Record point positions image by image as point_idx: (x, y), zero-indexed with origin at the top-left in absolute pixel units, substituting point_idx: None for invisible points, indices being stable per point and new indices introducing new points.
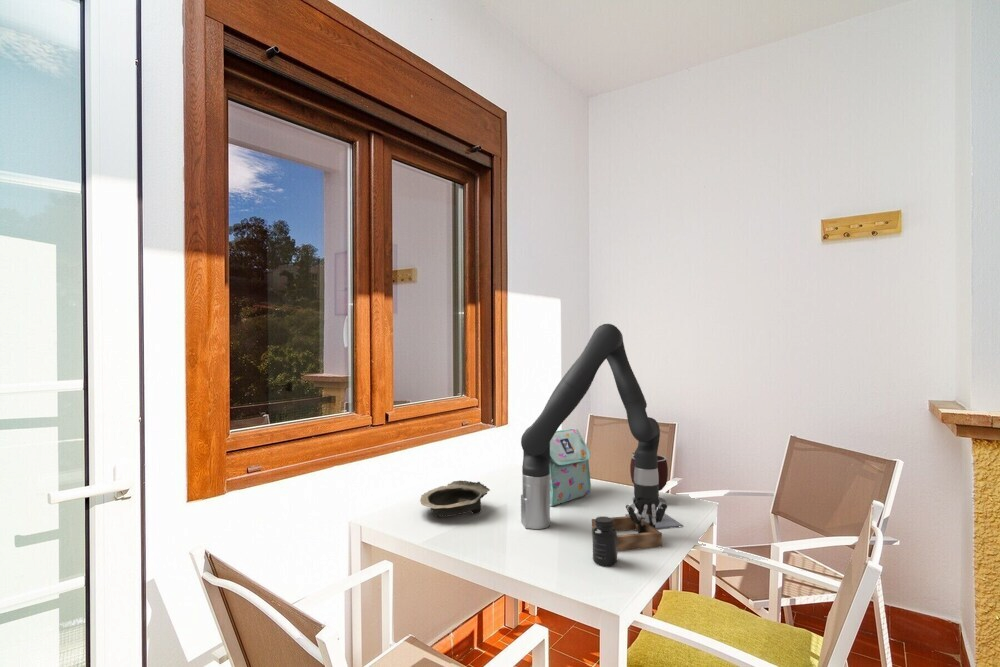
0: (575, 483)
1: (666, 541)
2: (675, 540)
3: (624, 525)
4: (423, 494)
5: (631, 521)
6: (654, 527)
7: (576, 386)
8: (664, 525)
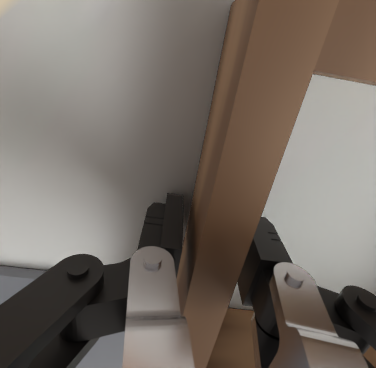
0: None
1: (122, 91)
2: (35, 78)
3: None
4: None
5: (222, 355)
6: (149, 235)
7: None
8: (6, 289)
